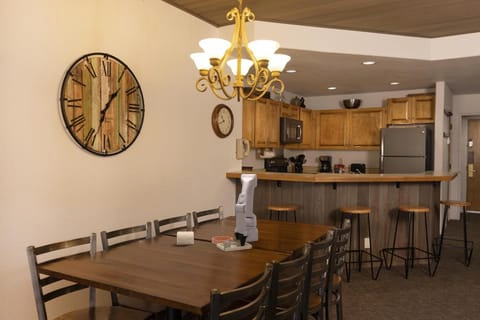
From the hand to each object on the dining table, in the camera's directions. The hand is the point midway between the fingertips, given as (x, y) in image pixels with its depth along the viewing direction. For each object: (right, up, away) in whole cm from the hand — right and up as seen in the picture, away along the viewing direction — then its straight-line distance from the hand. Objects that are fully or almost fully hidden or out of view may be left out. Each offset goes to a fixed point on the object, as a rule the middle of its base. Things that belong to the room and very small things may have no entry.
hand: (240, 245), depth 235 cm
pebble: (-8, -1, -4) cm, 9 cm away
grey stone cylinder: (0, -1, 0) cm, 1 cm away
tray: (-4, -2, -2) cm, 5 cm away
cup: (-30, +2, +10) cm, 31 cm away
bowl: (-12, -1, +11) cm, 16 cm away
